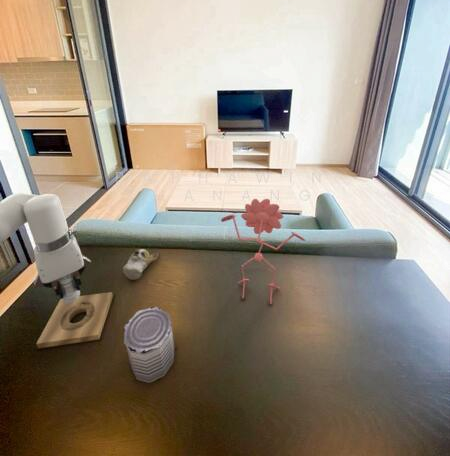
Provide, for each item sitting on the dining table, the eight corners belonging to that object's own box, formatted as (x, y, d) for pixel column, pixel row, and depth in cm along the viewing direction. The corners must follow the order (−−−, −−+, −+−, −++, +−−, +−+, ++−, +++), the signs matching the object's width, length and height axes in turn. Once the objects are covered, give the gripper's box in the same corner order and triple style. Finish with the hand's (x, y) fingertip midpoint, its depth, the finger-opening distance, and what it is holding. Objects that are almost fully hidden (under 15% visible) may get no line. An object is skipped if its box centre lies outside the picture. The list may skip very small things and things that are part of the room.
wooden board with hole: (38, 348, 67) (36, 343, 67) (62, 302, 80) (60, 298, 80) (99, 339, 69) (97, 334, 69) (113, 296, 82) (112, 291, 82)
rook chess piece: (70, 289, 74) (64, 269, 71) (84, 291, 73) (78, 271, 71) (59, 303, 70) (52, 282, 67) (73, 305, 69) (66, 284, 66)
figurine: (298, 312, 76) (310, 217, 64) (218, 296, 82) (215, 206, 69) (296, 273, 90) (306, 189, 78) (228, 262, 96) (227, 182, 83)
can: (129, 345, 68) (122, 315, 63) (170, 328, 72) (166, 298, 68) (132, 393, 58) (125, 360, 54) (179, 369, 62) (175, 337, 58)
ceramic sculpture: (112, 262, 85) (136, 236, 99) (115, 282, 87) (138, 254, 101) (139, 267, 83) (160, 240, 97) (141, 287, 85) (161, 258, 99)
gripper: (85, 221, 72) (98, 269, 78) (13, 245, 62) (34, 298, 69) (91, 233, 66) (103, 284, 73) (12, 263, 57) (35, 318, 63)
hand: (69, 290), depth 71 cm, fingers closed on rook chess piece, 3 cm apart
